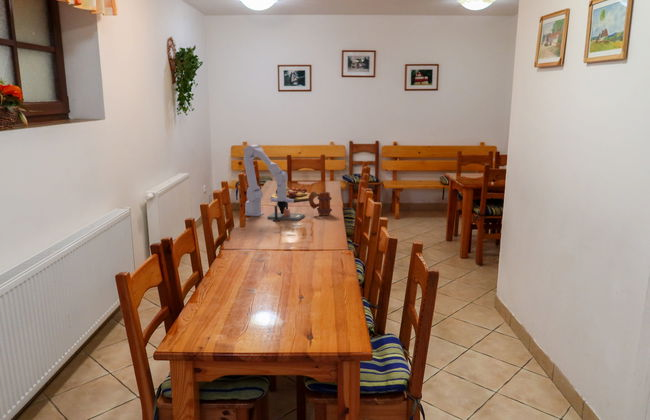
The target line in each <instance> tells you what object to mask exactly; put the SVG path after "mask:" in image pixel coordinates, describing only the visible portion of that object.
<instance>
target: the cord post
mask: <svg viewBox="0 0 650 420" xmlns="http://www.w3.org/2000/svg"><path fill="white" fill-rule="evenodd" d="M274 213H275V219H272V222H274V223H275V222H280V219H278V215H277V213H278V205H274Z"/></svg>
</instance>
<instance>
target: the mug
mask: <svg viewBox="0 0 650 420" xmlns="http://www.w3.org/2000/svg"><path fill="white" fill-rule="evenodd" d="M315 198H317V200H318V203H315V202H314V199H315ZM332 198H333V197H331V193H330V192H329V191H327V192H326V191H322V192H316V191H315V190H313V191H311V192H310V195H309V200H308V203H309V205H310V207H311V208H312V209H314V210H315V209H316V210H317V213H318V214H319V215H320V216H329V215H331V212H333V210H332V208H331V200H332ZM317 207H318V208H317Z"/></svg>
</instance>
